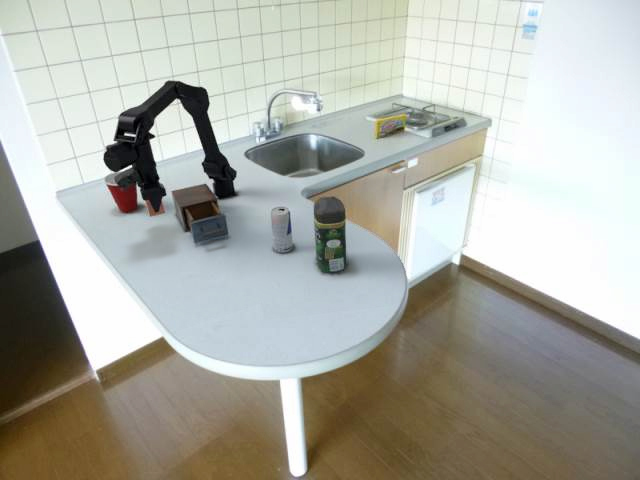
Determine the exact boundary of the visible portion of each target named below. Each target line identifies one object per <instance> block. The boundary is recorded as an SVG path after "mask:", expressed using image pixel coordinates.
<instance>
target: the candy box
mask: <svg viewBox="0 0 640 480" xmlns="http://www.w3.org/2000/svg"><path fill="white" fill-rule="evenodd" d="M406 118H407V114H404V113H402V114H398V115H394V116H388V117H383V118H379V119H375V120H374V123H375V124H374V136H373V138H374V139H376V140H377V139H382V138H386V137H390V136H395V135H399V134H403V133H405V132H406V121H407V120H406Z"/></svg>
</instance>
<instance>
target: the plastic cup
mask: <svg viewBox="0 0 640 480" xmlns="http://www.w3.org/2000/svg"><path fill="white" fill-rule="evenodd" d="M123 171H124V170H120V171H118V172H111V173H108V174H106V175H104V177H103V178H102V179H103V180H102V182H103V183H104V184H105V185H106V187H107V189H108V191H109V192H110V194H111V196H112V199H113V200H114V203H115V204H116V206H117V208H118V210H119V211H120V212H121V213H123V214H125V213H127V214H128V213H132V212H135V211H136V210H138V208H139V207H138V206H139V205H138V185H137V182H136V183H135V184H134V185H132V186H130V187H129V188H127V190H125V191H122V190H121V189H120V188H119V187H118V185H117V184H116V183H115V180H114V177H115V176H116V175H118V174H120V173H121V172H123Z"/></svg>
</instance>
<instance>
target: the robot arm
mask: <svg viewBox="0 0 640 480" xmlns="http://www.w3.org/2000/svg"><path fill="white" fill-rule="evenodd" d="M176 100H178V101H179V102H180V104H181V106H182V107H183V109H184V110H185V111H186V113H188V114H189V115H190V117H191V118H192V121H193V124H194V127H195V130H196V133H197V136H198V138H199V142H200V144H201V147H202V150H203V152H204V158H203V161H202V162H201V164H200V165H201V166H202V169H203V173H204V174H205V175H207V177H208V180H213V182H212V184H211V185H212V190H213V194H214V195H215V196H216V198H217V200H222V199H223V200H224V199H227V198H231V197H235V196H238V195H237V193H236V190H235V185H234V184H235V183H234V181H235V180H236V178H237V173H238V171H237V170H236V169H235V168H233V167H231V163H230V162H229V160H228V158H227V157H226V156H225V155H224V154H223V152H221V150H220V148H219V144H218V142H217V138H216V135H215V132H214V130H213V129H214V128H213V126H212V122H211V119H210V116H209V112H208V111H209V109H210V104H211V102H210V97H209V92H208V91H207V89H206V88H205V87H204V86H197V85H196V86H195V85H192V84H188V83H185V82H183V81H181V80H171V79H168V80H166V81H165V82H164V84H163V85H162V86H161V87H159V89H157V90H156V91H155V92H154V93H152V95H151V96H149V97H148V98H147V99H145V100H144V101H143V102H142V103H141V104H139V105H136V106H133V107H129V108H127V109H126V110H124V111H122V112H121V113H120V114H119V115H118V117H117V119H118V120H117V124H116V127H115V128H116V129H115V132H114V137H113V141H114V143H112V144H111V143H110V144H107V145H106V146H105V151H104V153H103V157H102V160H103V163H104V165H105V166H106V167H107V169H108V170H110V171H111V172H112V173H114V172H119V171H123V172H121V173H120V174H118V175H116V176H115V177H114V180H115V183H116V184H117V185H118V187H119V188H120V189H121V190H122V191H125V190H127V188H129V187H130V186H132V185H134V184H135V183H136V182H137V188H139V192H140V195H141V198H142V201H144V202H145V201H146V200H149V201H150V203H151V205H152V207H153V209H154V211H155V213H157V212H159V210H160V205H161V201H162V202H163V198H164V197H167V190H166V187H165V185H164V184H163V183H161V182H160V175H159V174H158V173H159V172H158V169H157V162H156V160H155V156H154V153H153V148H152V144H151V140H152V139H155V138H156V135H155V134H154V133H152V132H150V131H151V130H152V128H153V127H154V126H155V120H156V119H157V117H158V116H159V115H160V114H162V113H163V111H165V110H166V109H167V108H168V107H169V106H170V105H171V104H173V103H174V101H176Z"/></svg>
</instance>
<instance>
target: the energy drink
mask: <svg viewBox="0 0 640 480" xmlns="http://www.w3.org/2000/svg"><path fill="white" fill-rule="evenodd" d="M291 219H292V218H291V211H290V209H289V207H287V206H275V207H274V208H272V209H271V210H270V222H271V231H272V240H273V249H274V250H275V251H276V252H278V253H288V252H290V251H291V250H293V247H294V243H293V230H292V220H291Z"/></svg>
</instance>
